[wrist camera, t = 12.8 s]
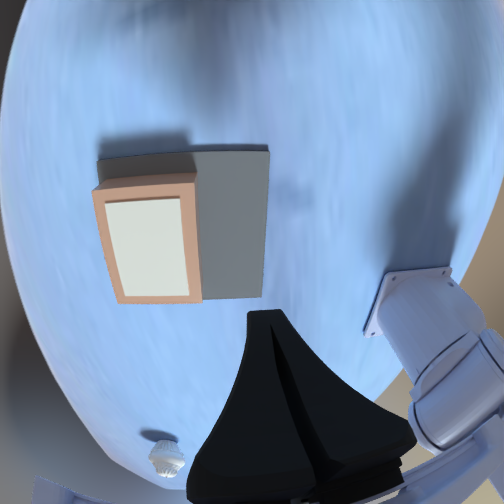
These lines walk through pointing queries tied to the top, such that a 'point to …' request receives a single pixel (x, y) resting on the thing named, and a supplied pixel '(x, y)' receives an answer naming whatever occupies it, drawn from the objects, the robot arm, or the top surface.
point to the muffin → (166, 458)
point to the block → (151, 237)
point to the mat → (217, 211)
